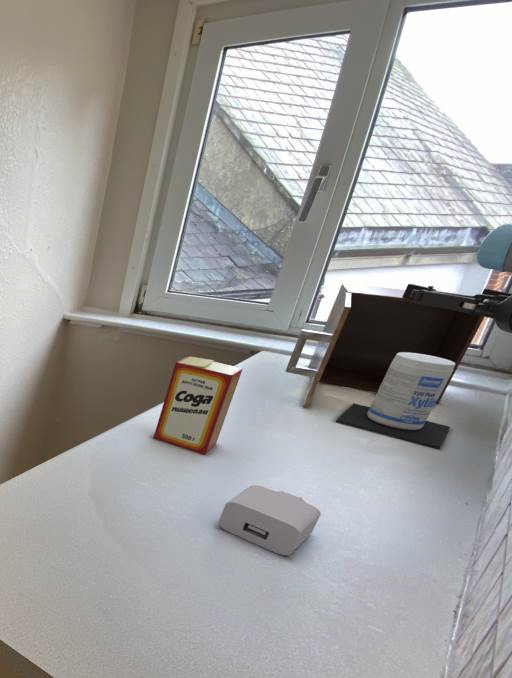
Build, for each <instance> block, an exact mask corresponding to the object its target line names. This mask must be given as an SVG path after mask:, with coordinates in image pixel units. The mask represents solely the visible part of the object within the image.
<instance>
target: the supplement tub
mask: <svg viewBox="0 0 512 678" xmlns="http://www.w3.org/2000/svg"><path fill="white" fill-rule="evenodd" d="M454 367H455V363H454V362H452V361H450V360H447V359H443V358H439V357H435V356H430V355H425V354H418V353H408V352H400V353H397V354H396V356H395V358H394V359H393V361H392V363H391V365H390V367H389V369H388V371H387V373H386V375H385V377H384V379H383V381H382V383H381V386H380V388H379V390H378V392H377V393H375V395H374V398H373V400H372V402H371V404H370V406H369V407H370V408H369V411H368V413H367V415H368V417H369V418H370V419H371V420H373V421H375V422H377V423H379V424H382V425H386V426H389V427H393V428H398V429H404V430H418V429H421V428H422V427H423V426H424V424H425V422H426V421H428V418H429V416H430V414H431V413H432V411H433V409H434V407H435V405H437V404H436V402H437V400H438V398H439V396H440V394H441V393H442V391H443V389H444V387H445V385H446V383H447V381H448V380H449V378H450V376H451V374H452V372H453V369H454Z"/></svg>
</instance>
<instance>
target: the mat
mask: <svg viewBox="0 0 512 678" xmlns="http://www.w3.org/2000/svg"><path fill="white" fill-rule="evenodd" d="M369 408H370V406H367V405H363V404H359V403H352V404H351V405H350V406H348V408H347V409H346V410H345V411H344V412H343V413H342V414H341V415H340V416H338V417H337V419H335V422H336V423H339V424H342V425H346V426H349V427H354V428H357V429H361V430H365V431H369V432H373V433H375V434H381V435H383V436H387V437H391V438H395V439H398V440H402V441H407V442H411V443H413V444H418V445H421V446H424V447H429V448H433V449H436V450H440V448H441V447H442V444H443V442H444V440H445V438H446V436H447V435H448V433H449V430H450V428H451V426H449V425H445V424H441V423H437V422H433V421H429V420H426V422H425V424H424V426H423V427H422V428H421V429H418V430H404V429H398V428H393V427H389V426H386V425H382V424H379V423H377V422H375V421H373V420H371V419H370V418H369V417H368V415H367V413H368V411H369Z"/></svg>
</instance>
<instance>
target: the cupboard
mask: <svg viewBox="0 0 512 678" xmlns="http://www.w3.org/2000/svg"><path fill="white" fill-rule="evenodd" d="M405 290H406V289H401V288H400V289H399V288H389V287H381V286H371V285H370V286H369V285H360V284H351V283H341V285H340V288H339V290H338V293H337V294H336V297H335V300H334V302H333V305H332V307H331V309H330V313H329V314H328V317H327V320H326V322H325V325H324V327H323V329H322V331H321V332H322V333H330V331H331V328H332V326H333V324H334V321H335V319H336V316H337V314H338V312H339V309H340V307H341V304H342V302H343V299H344V297H345V295H346V293H351V308H350V310H349V313H348V315H347V317H346V320H345V322H344V324H343V327H342V329H341V331H340V334H339V336H338V339H337V341H336V343H335V346H334V348H333V350H332V353H331V355H330V357H329V360H328V362H327V364H326V367H325V369H324V372H323V374H322V376H321V379H320V381H319V383H318V384H322V385H323V384H324V385H329V386H335V387H341V388H346V389H351V390H358V391H362V392H369V393H374V394H377V392H378V390H379V388H380V386H381V383H382V381H383V379H384V377H385V375H386V373H387V371H388V369H389V367H390V365H391V363H392V361H393V359H394V358H395V356H396V354H397V353H400V352H408V353H418V354H425V355H430V356H435V357H439V358H443V359H447V360H450V361H452V362H454V363H455V367H454V369H453V372H452V374H451V376H450V378H449V380H448V381H447V383H446V385H445V387H444V389H443V391H442V393H441V394H440V396H439V398H438V400H437V402H436V404H435V405H438V404H440V401H441V399H442V398H443V396H444V394H445V392H446V390H447V389H448V386H449V385H450V383H451V381H452V379H453V377H454V375H455V373H456V372H457V369H458V368H459V366H460V364H461V362H462V361H463V359H464V357H465V355H466V353H467V351H468V349H469V347H470V345H471V343H472V342H473V340H474V338H475V336H476V334H477V332H478V330H479V329H480V326H481V325H482V323H483V321H484V319H485V318H486V317H485V316H483V315H477V314H467V313H464V312H460V311H455V310H450V309H444V308H438V307H433V306H427V305H422V304H415V303H413V301H414V300H410V299H407V298H403V294H404V292H405ZM480 304H482V303H480ZM476 311H480V310H476ZM317 341H318V342H317V344H316V347H315V349H314V351H313V354H312V356H311V359H310V361H309V364H308V368H311V369H315V367H316V364H317V362H318V360H319V357H320V355H321V352H322V350H323V348H324V345H325V343H326V342H325V341H319V340H317Z"/></svg>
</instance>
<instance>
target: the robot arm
mask: <svg viewBox="0 0 512 678" xmlns="http://www.w3.org/2000/svg"><path fill="white" fill-rule="evenodd" d="M476 260H477V263H478V265H479V266H480V267H482V268H484V269H486V270H487V269H488V270H493V271H499V272H500V273H512V223H504V224H501V225H499V226H497V227H495V228H493V229H492V230H491V231H490V232H488V234H486V236H485V237H484V239H483V240H482V241H481V243H480V245H479V248H478V251H477V253H476ZM434 287H435V286H434V285H428V286H422V285H418V284H414V283H407V286H406V288H405V289H404V290H405V292H404V294H403V298H407V299H410V300H414V301H413V303H415V304H422V305H427V306H433V307H438V308H444V309H450V310H455V311H460V312H464V313H467V314H477V315H483V316H485V317H484V318H488V319H494V322H495V325H496V327H497V328H498V329H499V330H501V331H503V332H505V333H509V334H512V293H511V292H506V291H500V290H497V289H492V288H484V289H483V290H482V292H481V293H477V294H474V295H471V294H470V295H469V294H462V293H455V292H448V291H439V290H437V289H436V288H434ZM480 303H482V304H480ZM476 310H480V311H476Z"/></svg>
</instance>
